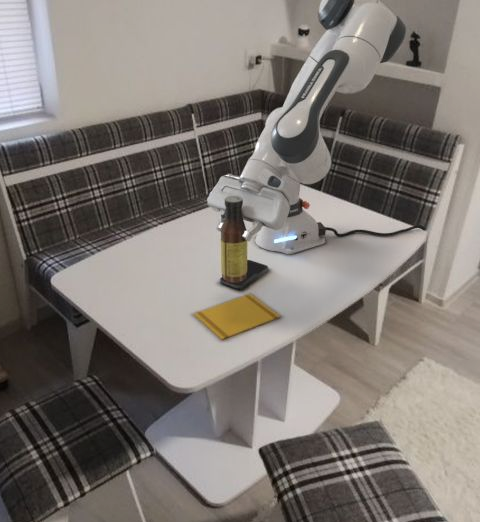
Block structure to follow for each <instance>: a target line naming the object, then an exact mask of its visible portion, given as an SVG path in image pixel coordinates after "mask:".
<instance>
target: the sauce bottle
mask: <svg viewBox="0 0 480 522" xmlns="http://www.w3.org/2000/svg"><path fill="white" fill-rule="evenodd" d="M242 205H243V199H242V198H241V197H239V196H228V197H226V198H225V206H226V215H225V217H226V218H225V221H224V223H223V224H222V226H221V232H220V263H221V264H220V266H221V267H220V269H221V270H220V271H221V278H222V277H223V279H224V280H226V281H227V282H232V283H237V282H241V281H243V280H245V279H246V274H247V260H248V241H246V240H244V239H243V238H242V235H243V234H244V231H245V230H246V231H248V229H247V227H246V224H245V220H243V217H242Z"/></svg>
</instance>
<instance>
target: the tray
mask: <svg viewBox="0 0 480 522" xmlns="http://www.w3.org/2000/svg"><path fill="white" fill-rule="evenodd" d="M193 316H195V318H196V319H198V320H199V321H200V322H201V323H202V324H203V325H204V326H205V327H206V328H208V329H209V330H210V331H211V332H212V333H213V334H215V336H217V337H218V338H219V339H220V340H221V341H223V340H226V339H228V338H231V337H233V336H236V335H238V334H241V333H243V332H246V331H248V330H252V329H253V328H256V327H259V326H261V325H264V324H266V323H269V322H271V321H274V320H276V319H279V318H281V315H279V314H278V313H277V312H275V311H274V310H273V309H272V308H270V307H269V306H268V305H267V304H264V303H263V302H262V301H261V300H260V299H258V298H256V296H254V295H253V294H252V293H249V294H246V295H244V296H239V297H238V298H235V299H232V300H230V301H227V302H223V303H221V304H218V305H215V306H212V307H209V308H206V309H204V310H201V311H198V312H195V313H193Z"/></svg>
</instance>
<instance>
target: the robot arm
mask: <svg viewBox="0 0 480 522" xmlns="http://www.w3.org/2000/svg"><path fill="white" fill-rule="evenodd" d="M317 11H318V12H317V18H318V22H319V24H320V25H321V27H322V28H324V30H326V31H325V32H324V33H323V35H322V36H321V37H320V39H319V40H318V42H317V43H316V44H315V46H314V47H313V49H312V50H311V52H310V53H309V56H308V57H307V59H306V60H305V61H304V63H303V65H302V67H301V69H300V70H299V72H298V74H297V75H296V77H295V78H294V81H293V82H292V84H291V87H290V89H289V92H288V94H287V96H286V98H285V100H284V103H283V105H282V106H281V107H277V108H275V109H273V110H272V111H271V112H270V113H269V115H268V116H267V118H266V121H265V123H264V128H263V129H262V131H261V133H260V135H259V137H258V139H257V141H256V143H255V147H254V151H253V153H252V155H251V156H250V157H249V158H248V159H247V161H246V164H245V166H244V168H243V170H242V172H241V174H240V175H234V174H232V173H226V174H224V175H222V176H220V178H219V180H218V181H217V183H215V186H214V187H213V188H212V191H211V192H210V193H209V195H208V197H207V199H206V202H207V206H209V208H211V210H213V211H215V212H218V223H217V225H216V230H217V231H218V232H220V233H221V226H222V224H223V223H224V221H225V218H226V217H225V215H226V206H225V198H226V197H228V196H239V197H241V198H242V199H243V205H242V217H243V220H244V221H246V222H249V223H252V227H250V228H249V229H246V230H247V231H246V230H245V231H244V234H243V235H242V238H243V239H244V240H246V241H247V242H251V240H252V239H253V237H254V235H256V237H255V241H254V242H255V243H256V245H257V246H258V247H260V248H262V249H265V250H267V251H272V252H279V253H283V254H287V255H293V254H296V253H299V252H302V251H306V250H308V249H311V248H315V247H317V246H321V245H322V246H323V245H324V244H325V243H326V238H325V236H326V232H327V231H331V232H332V233H334V235H335V236H336V237H338V238H341V237H347V236H349V235H352V234H356V233H361V234H367V235H368V234H369V235H373V236H378V237H392V236H396V235H399V234H402V233H406V232H409V231H412V230H415V229H421V230H422V231H426V228H425V226H424V225H421V224H416V225H413V226H410V227H407V228H404V229H403V228H402V229H399V230H396V231H393V232H378V231H377V232H376V231H372V230H368V229H352V230H350V231H347V232H344V233H338V230H337V229H335V228H333V227H329V226H328V227H327V226H324V224H323V223H322V222H321V221H317V220H316V219H315V218H314V217H313V216H312V215H311V214H310V213H308V212H307V211H306V210H308V209H309V208H310V206H311V204H310V203H309V202H308V201H306V200H303V199H302V198H301V197H300V191H301V184H302V185H307V186H309V185H315V184H317V183H319V182H321V181H322V180H323V179H324V178H325V177H326V176H327V175H328V174H329V173H330V170H331V167H332V163H333V162H332V157H331V153H330V150H329V148H328V146H327V144H326V142H325V140H324V137H323V135H322V132H321V127H320V122H321V118H322V116H323V114H324V112H325V110H326V108H327V106H328V105H329V103H330V101H331V100H332V98H333V97H334V95H335V94H336V92H337V93H340V94H344V95H353V94H358V93H360V92H362V91H363V90H366V87H367V86H368V85H369V84H370V83H371V81H372V80H373V78H374V77H375V75H376V72H377V70H378V67H379V66H380V64H385V63H387V62H389V61H390V60H391V59H392V58H393V57H394V56H395V55H396V54H397V53H398V51H400V49H401V48H402V45H403V43H404V40H405V38H406V36H407V27H406V24H405V23H404V21H403V20H402V19H401V17H399V16H398V15H395V14H394V13H393V11H391V10H390V9H389V8H388V7H387V6H386V5H385V4H384V3H383V2H382V1H381V0H320V3H319V7H318V10H317ZM303 208H304V209H305V210H304V209H303Z"/></svg>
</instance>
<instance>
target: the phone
mask: <svg viewBox="0 0 480 522" xmlns="http://www.w3.org/2000/svg"><path fill="white" fill-rule="evenodd" d="M268 271H269V266H268V265H266V264H264V263H261V262H257V261H254V260H252V259H247V274H246V279H245V280H243V281H241V282H237V283H232V282H227V281H226V280H224V279H223V277H222V276H221V277H220V278H219V283H220V285H223V286H226V287H228V288H231V289H234V290H237V291H244V290H245V289H247V288H248V287H249V286H251V285H252V284H253V283H254V282H256V281H257V280H258V279H260V278H261V277H263V275H265V274H266V273H267V272H268Z"/></svg>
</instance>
